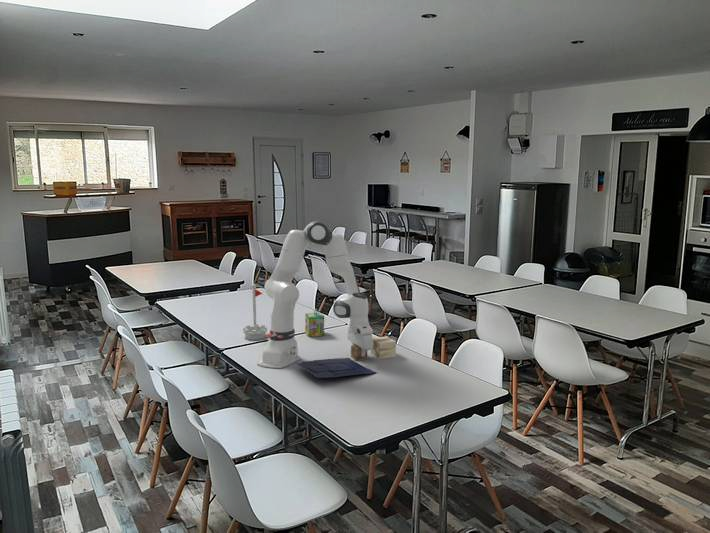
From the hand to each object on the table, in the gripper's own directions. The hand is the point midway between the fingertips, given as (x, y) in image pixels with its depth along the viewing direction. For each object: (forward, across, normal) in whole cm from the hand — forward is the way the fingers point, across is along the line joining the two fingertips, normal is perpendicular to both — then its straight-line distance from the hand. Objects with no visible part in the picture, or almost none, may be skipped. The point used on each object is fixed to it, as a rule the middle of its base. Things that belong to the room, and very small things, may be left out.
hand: (359, 353), depth 260 cm
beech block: (+2, +2, +13) cm, 13 cm away
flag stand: (+2, -57, -36) cm, 68 cm away
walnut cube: (+2, 0, 0) cm, 2 cm away
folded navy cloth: (+3, +12, -18) cm, 22 cm away
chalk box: (+2, -46, -5) cm, 46 cm away
